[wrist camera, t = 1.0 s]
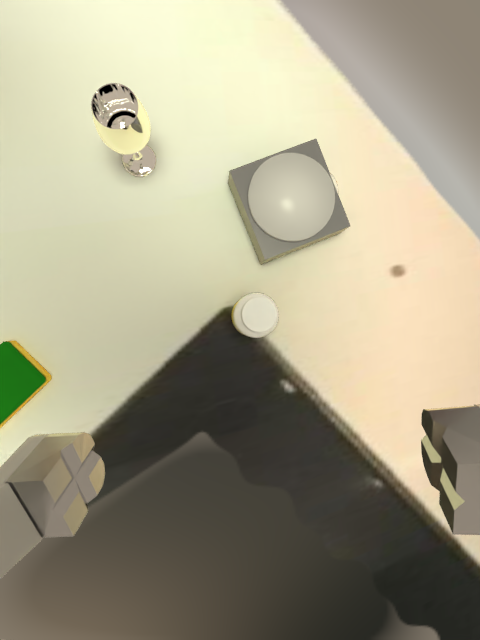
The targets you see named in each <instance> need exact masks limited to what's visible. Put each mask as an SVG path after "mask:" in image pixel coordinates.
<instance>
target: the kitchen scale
mask: <svg viewBox="0 0 480 640" xmlns="http://www.w3.org/2000/svg"><path fill="white" fill-rule="evenodd" d="M228 184H229V187H230V189H231V192H232V194H233V197H234V199H235V202H236V204H237V207H238V209H239V212H240V214H241V217H242V219H243V222H244V224H245V227H246V229H247V232H248V234H249V237H250V239H251V242H252V244H253V247H254V249H255V252H256V254H257V257H258V259H259V262H260V264H264V263H266V262H269V261H272V260H274V259H277V258H279V257H282V256H284V255H287V254H289V253H292V252H294V251H297V250H299V249H302V248H304V247H307V246H309V245H312V244H314V243H317V242H319V241H322V240H324V239H327V238H329V237H332V236H334V235H337V234H339V233H341V232H342V231H344V230H345V229H347V228H348V227H350V224H349V221H348V218H347V216H346V213H345V211H344V208H343V206H342V203H341V201H340V198H339V196H338V186H337V181H336V180H335V178H334V176H333V175H332V174H331V173H329V170H328V167H327V165H326V162H325V160H324V157H323V155H322V152H321V150H320V147H319V144H318V142H317V139H314V140H311V141H308V142H305V143H303V144H300V145H297V146H295V147H292V148H289V149H287V150H284V151H281V152H279V153H276V154H273V155H271V156H268V157H265V158H263V159H260V160H257V161H255V162H252V163H249V164H247V165H244V166H241V167H238V168H236V169H233V170H230V171H229V179H228Z"/></svg>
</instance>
